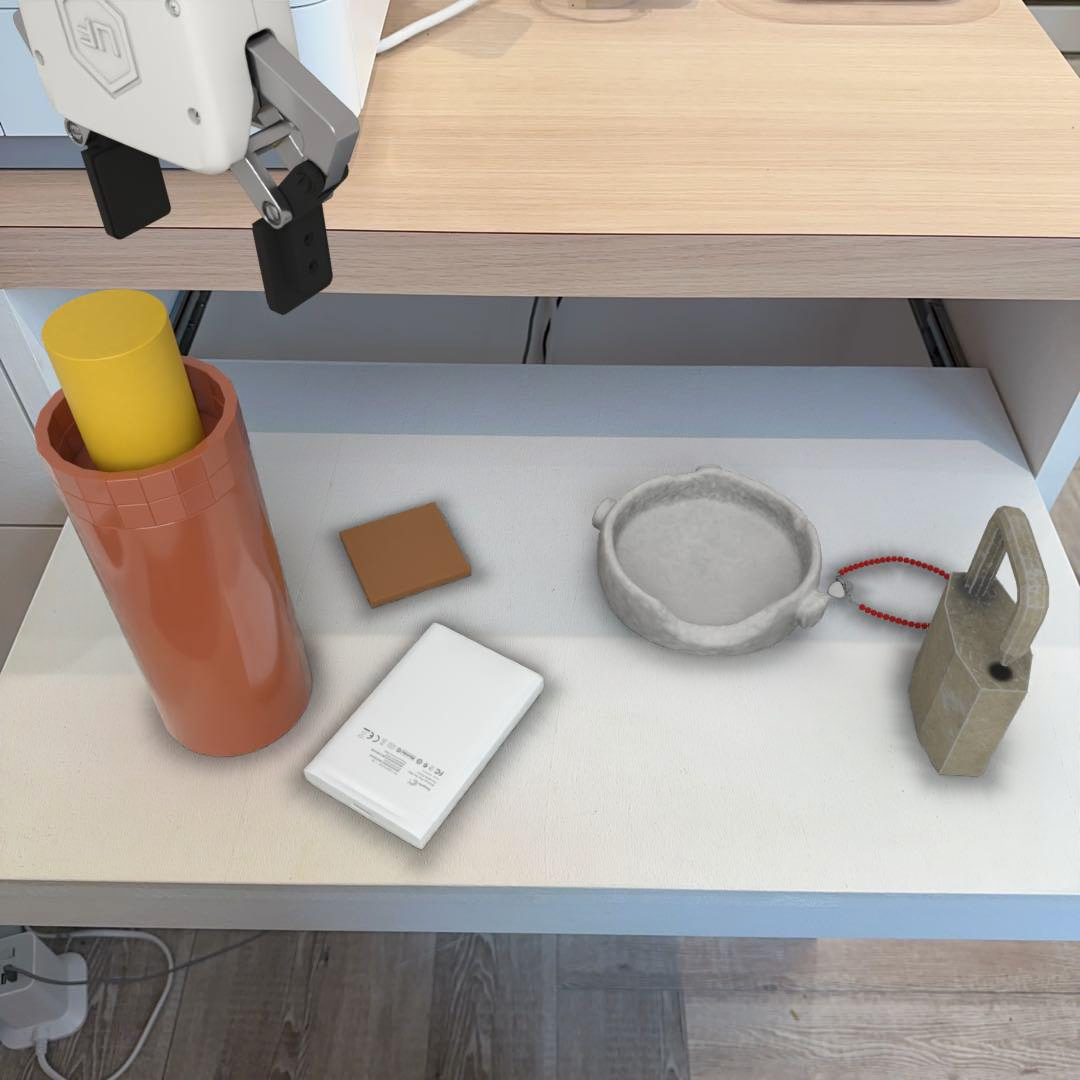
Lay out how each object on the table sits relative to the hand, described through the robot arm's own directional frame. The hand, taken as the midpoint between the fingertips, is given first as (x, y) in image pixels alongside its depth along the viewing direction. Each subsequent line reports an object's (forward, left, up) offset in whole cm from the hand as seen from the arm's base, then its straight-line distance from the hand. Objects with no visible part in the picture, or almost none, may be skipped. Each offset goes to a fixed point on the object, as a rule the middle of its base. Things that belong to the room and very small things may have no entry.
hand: (218, 260), depth 46 cm
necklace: (+36, -10, -29) cm, 47 cm away
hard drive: (+4, -7, -29) cm, 30 cm away
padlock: (+33, -19, -29) cm, 48 cm away
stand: (-5, 0, -29) cm, 29 cm away
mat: (+8, +7, -29) cm, 31 cm away
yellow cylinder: (-5, 0, -10) cm, 11 cm away
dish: (+25, -4, -29) cm, 38 cm away
